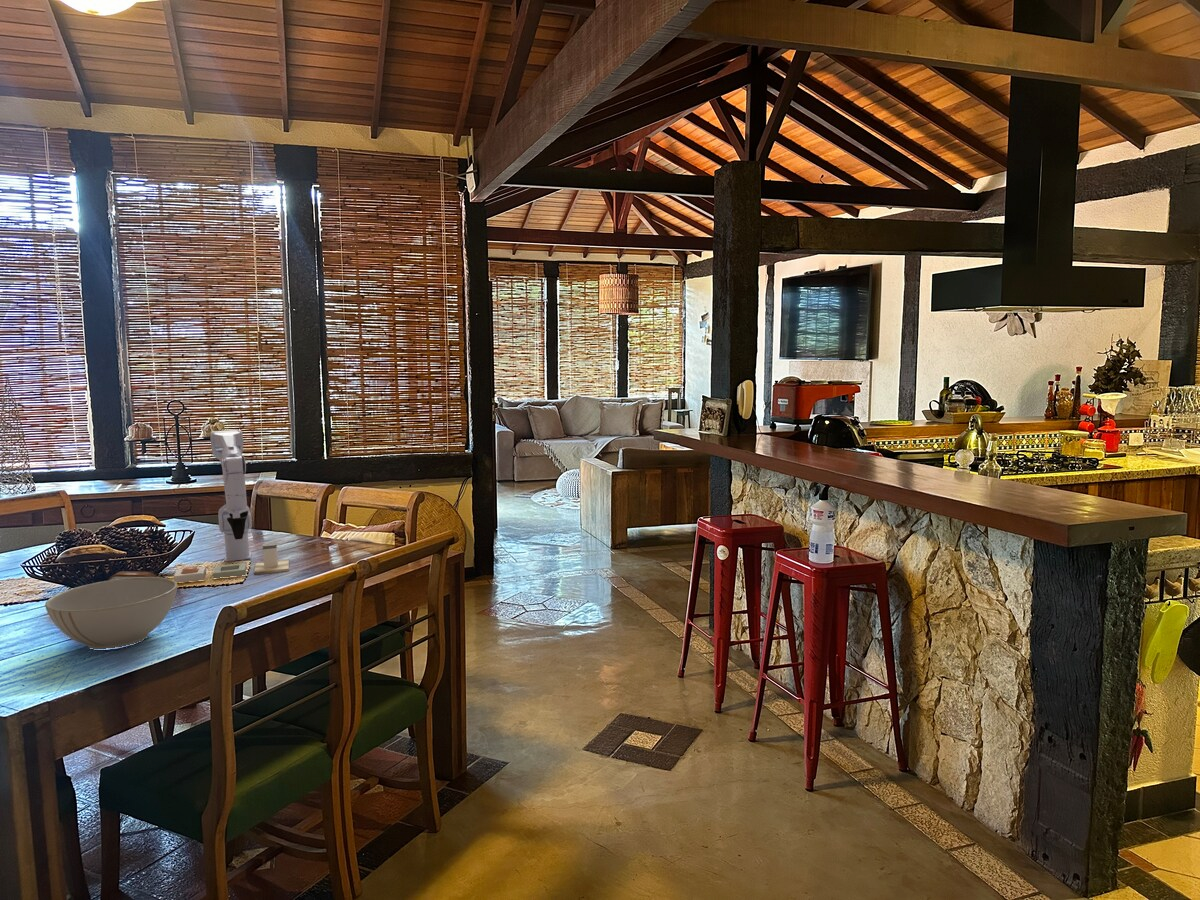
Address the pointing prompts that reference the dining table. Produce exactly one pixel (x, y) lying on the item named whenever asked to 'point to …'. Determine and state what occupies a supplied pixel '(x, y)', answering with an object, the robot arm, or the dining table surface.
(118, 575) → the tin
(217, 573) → the socket
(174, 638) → the dining table surface
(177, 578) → the plunger housing
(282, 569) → the birch board
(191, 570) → the plunger button
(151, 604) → the decorative bowl
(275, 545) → the cartridge
